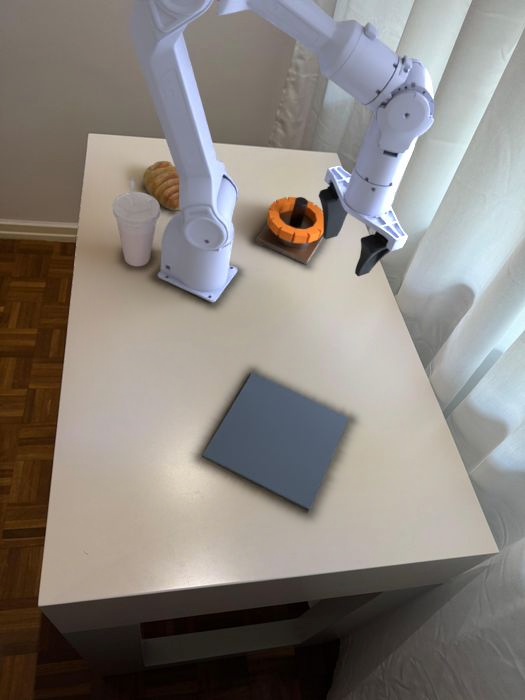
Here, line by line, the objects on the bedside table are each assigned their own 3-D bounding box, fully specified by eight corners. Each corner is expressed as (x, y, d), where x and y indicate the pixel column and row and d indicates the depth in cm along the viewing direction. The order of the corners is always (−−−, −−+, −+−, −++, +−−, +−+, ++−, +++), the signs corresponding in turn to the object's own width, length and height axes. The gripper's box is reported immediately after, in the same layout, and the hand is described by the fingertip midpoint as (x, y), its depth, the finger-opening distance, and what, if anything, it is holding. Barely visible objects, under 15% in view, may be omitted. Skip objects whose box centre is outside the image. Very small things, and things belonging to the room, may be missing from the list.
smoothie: (116, 241, 87) (112, 162, 76) (159, 244, 88) (161, 166, 77) (113, 271, 83) (109, 193, 72) (158, 274, 85) (160, 197, 74)
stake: (255, 242, 92) (263, 205, 86) (278, 212, 98) (286, 175, 92) (306, 264, 91) (317, 228, 85) (326, 233, 96) (338, 197, 91)
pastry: (200, 207, 95) (201, 189, 92) (162, 217, 92) (163, 198, 89) (175, 174, 99) (176, 155, 96) (138, 182, 96) (138, 163, 93)
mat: (202, 456, 68) (202, 455, 68) (252, 373, 77) (252, 371, 76) (308, 511, 66) (309, 509, 66) (348, 419, 75) (349, 417, 74)
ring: (257, 228, 90) (259, 220, 89) (281, 197, 95) (282, 189, 94) (311, 251, 89) (313, 243, 87) (331, 219, 94) (334, 211, 93)
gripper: (440, 201, 67) (399, 281, 78) (367, 131, 74) (338, 214, 84) (395, 215, 64) (359, 296, 75) (323, 141, 71) (299, 225, 81)
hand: (345, 254), depth 79 cm, fingers open, 7 cm apart
